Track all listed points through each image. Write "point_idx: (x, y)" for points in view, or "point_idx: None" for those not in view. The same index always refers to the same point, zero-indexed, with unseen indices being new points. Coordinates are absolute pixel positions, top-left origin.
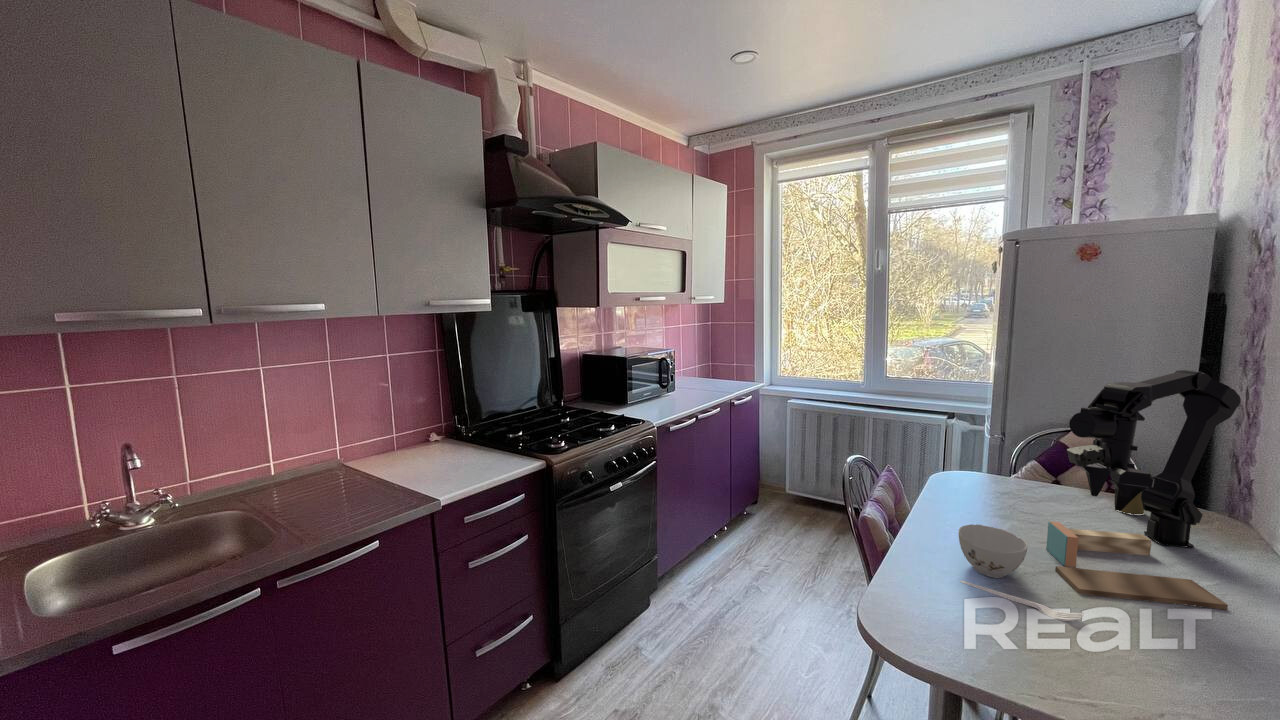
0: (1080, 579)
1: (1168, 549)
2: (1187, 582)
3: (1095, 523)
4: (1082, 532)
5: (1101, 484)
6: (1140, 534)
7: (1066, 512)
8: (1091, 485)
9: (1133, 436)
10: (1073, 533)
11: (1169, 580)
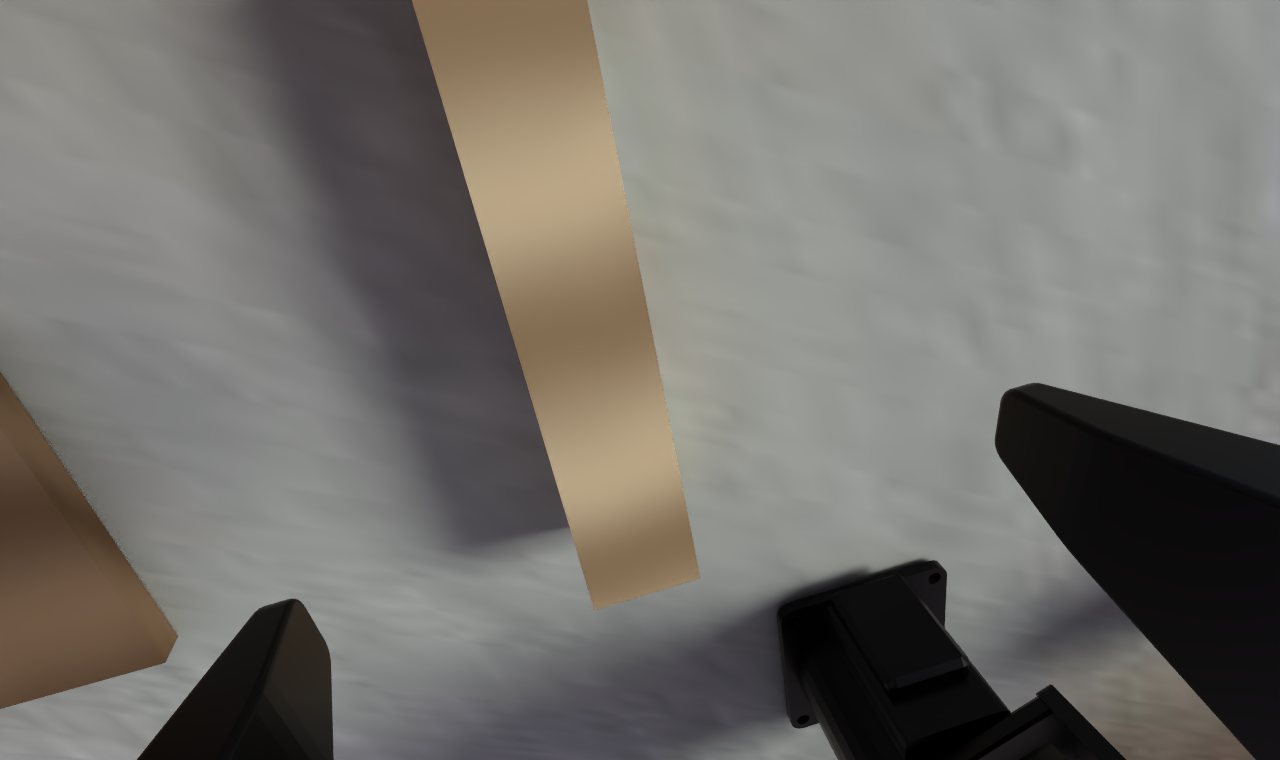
0: None
1: (728, 623)
2: (78, 639)
3: (1060, 339)
4: (518, 103)
5: (1200, 655)
6: (692, 567)
7: (1251, 190)
8: (1200, 480)
9: None
10: None
11: (24, 556)
